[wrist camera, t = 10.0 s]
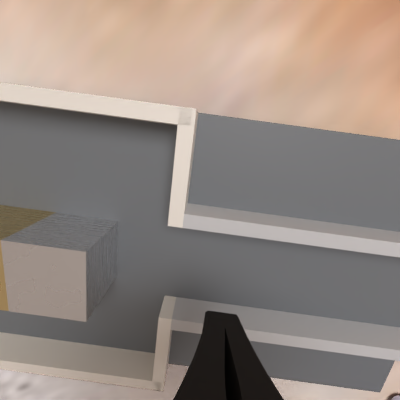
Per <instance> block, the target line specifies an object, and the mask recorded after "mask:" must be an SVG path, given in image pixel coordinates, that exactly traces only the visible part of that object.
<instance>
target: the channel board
mask: <svg viewBox="0 0 400 400" xmlns="http://www.w3.org/2000/svg"><path fill="white" fill-rule="evenodd" d="M0 205H6V206H13V207H21V208H28V209H35V210H43V211H50V212H56V213H63V214H71V215H78V216H85V217H93V218H100V219H107V220H115V221H119V225H118V252H117V276H116V278H115V279H114V281H113V282H112V284H111V285H110V287H109V288H108V290H107V291H106V293H105V294H104V296H103V297H102V299H101V301H100V302H99V304H98V305H97V307H96V308H95V310H94V311H93V313H92V314H91V316H90V317H89V319H88V320H87V322H83V321H76V320H69V319H61V318H54V317H47V316H39V315H32V314H25V313H17V312H10V311H4V310H0V369H3V370H10V371H17V372H25V373H32V374H39V375H47V376H54V377H61V378H69V379H76V380H83V381H90V382H98V383H105V384H112V385H120V386H127V387H134V388H141V389H149V390H156V391H163V390H164V384H165V379H166V373H167V367H168V363H169V364H177V365H184V366H190V364H191V361H192V359H193V357H194V354H195V352H196V349H197V346H198V343H199V340H200V338H201V334H202V329H203V323H204V317H205V312H207V311H216V312H223V313H230V314H237V316H238V317H239V319H240V322H241V324H242V326H243V328H244V331H245V333H246V335H247V337H248V339H249V341H250V343H251V345H252V347H253V349H254V351H255V352H256V354H257V356H258V358H259V360H260V362H261V363H262V365H263V367H264V369H265V370H266V372H267V374H268V376H269V377H272V378H279V379H286V380H294V381H301V382H308V383H315V384H323V385H330V386H337V387H345V388H352V389H359V390H367V391H374V392H380V391H381V389H382V387H383V385H384V383H385V381H386V378H387V376H388V374H389V372H390V370H391V368H392V366H393V364H394V361H400V140H396V139H388V138H381V137H373V136H366V135H359V134H351V133H344V132H336V131H329V130H322V129H314V128H307V127H300V126H292V125H285V124H277V123H270V122H263V121H255V120H248V119H240V118H233V117H226V116H218V115H211V114H204V113H198V111H197V109H195V108H187V107H180V106H173V105H165V104H158V103H150V102H143V101H136V100H128V99H121V98H113V97H106V96H99V95H91V94H84V93H76V92H69V91H62V90H54V89H47V88H40V87H32V86H25V85H17V84H10V83H3V82H0Z"/></svg>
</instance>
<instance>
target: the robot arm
mask: <svg viewBox="0 0 400 400" xmlns="http://www.w3.org/2000/svg"><path fill="white" fill-rule="evenodd" d="M173 400H284V399H283V398H282V396H281V395H280V393H279V392H278V390H277V389H276V387H275V385H274V384H273V382H272V380H271V379H270V377H269V376H268V374H267V372H266V370H265V369H264V367H263V365H262V363H261V362H260V360H259V358H258V356H257V354H256V352H255V351H254V349H253V347H252V345H251V343H250V341H249V339H248V337H247V335H246V333H245V331H244V328H243V326H242V324H241V322H240V319H239V317H238V316H237V314H230V313H223V312H216V311H207V312H205V317H204V323H203V329H202V334H201V338H200V340H199V343H198V346H197V349H196V352H195V354H194V357H193V359H192V361H191V364H190V366H189V368H188V371H187V373H186V375H185V377H184V380H183V382H182V384H181V386H180V388H179V390H178V392H177V394H176V396H175V397H174V399H173ZM391 400H400V395H397V396H394V397H393V398H392V399H391Z"/></svg>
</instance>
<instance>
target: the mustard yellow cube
mask: <svg viewBox="0 0 400 400" xmlns="http://www.w3.org/2000/svg"><path fill="white" fill-rule="evenodd" d="M54 213H56V212H50V211H43V210H35V209H28V208H21V207H13V206H6V205H0V310H4V311H9V309H8V301H7V292H6V283H5V275H4V266H3V258H2V249H1V240H2V239H4V238H6V237H8V236H10V235H12V234H14V233H16V232H18V231H20V230H22V229H24V228H26V227H28V226H30V225H32V224H34V223H36V222H38V221H40V220H42V219H44V218H46V217H48V216H50V215H52V214H54Z"/></svg>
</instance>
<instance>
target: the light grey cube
mask: <svg viewBox="0 0 400 400" xmlns="http://www.w3.org/2000/svg"><path fill="white" fill-rule="evenodd" d="M118 225H119V221H115V220H107V219H100V218H93V217H85V216H78V215H71V214H63V213H54V214H52V215H50V216H48V217H46V218H44V219H42V220H40V221H38V222H36V223H34V224H32V225H30V226H28V227H26V228H24V229H22V230H20V231H18V232H16V233H14V234H12V235H10V236H8V237H6V238H4V239H2V240H1V249H2V258H3V266H4V275H5V283H6V292H7V301H8V309H9V311H10V312H17V313H25V314H32V315H39V316H47V317H54V318H61V319H69V320H76V321H83V322H87V320H88V319H89V317H90V316H91V314H92V313H93V311H94V310H95V308H96V307H97V305H98V304H99V302H100V301H101V299H102V297H103V296H104V294H105V293H106V291H107V290H108V288H109V287H110V285H111V284H112V282H113V281H114V279H115V278H116V276H117V252H118Z"/></svg>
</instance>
